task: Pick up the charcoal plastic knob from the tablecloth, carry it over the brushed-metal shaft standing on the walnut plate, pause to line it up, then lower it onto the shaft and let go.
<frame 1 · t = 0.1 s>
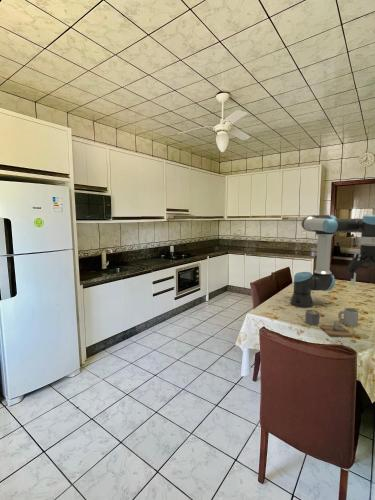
hand: (366, 284, 137), 28 cm above the table, fingers open, 13 cm apart
cup: (347, 324, 155), on the table
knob: (311, 323, 156), on the table
shaft block: (335, 332, 144), on the table
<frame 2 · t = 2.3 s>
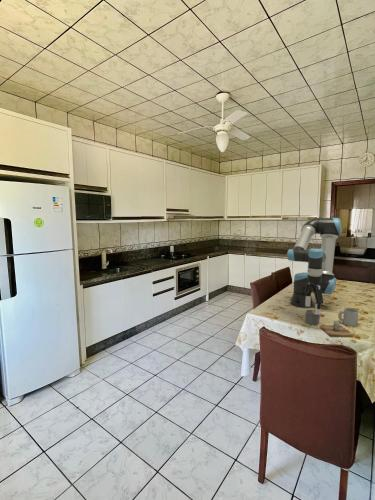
hand: (312, 310, 155), 8 cm above the table, fingers open, 13 cm apart
nothing on the table moved.
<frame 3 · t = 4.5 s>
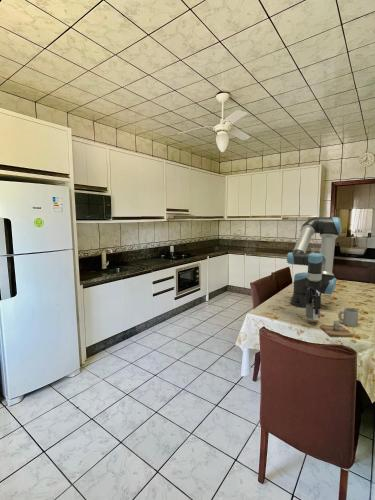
hand: (312, 316, 156), 4 cm above the table, fingers closed on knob, 7 cm apart
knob: (312, 316, 156), point 4 cm above the table, touching gripper
everything else where it was.
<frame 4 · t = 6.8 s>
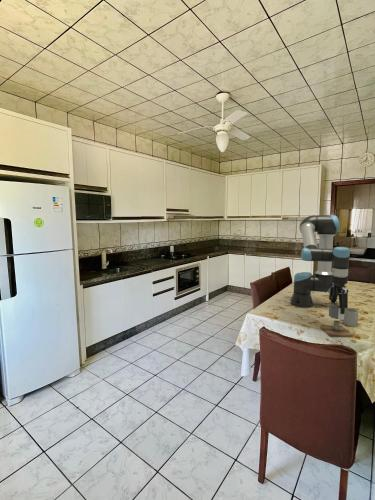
hand: (336, 316, 143), 9 cm above the table, fingers closed on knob, 7 cm apart
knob: (336, 316, 143), point 9 cm above the table, touching gripper
everything else where it was.
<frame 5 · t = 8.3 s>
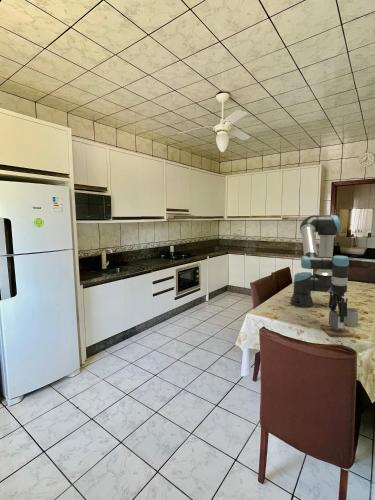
hand: (336, 324, 143), 4 cm above the table, fingers closed on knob, 7 cm apart
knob: (336, 325, 143), point 4 cm above the table, touching gripper
everything else where it was.
when the fingers open (2 cm above the table, at t = 9.1 s): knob stays where it is, resting on shaft block.
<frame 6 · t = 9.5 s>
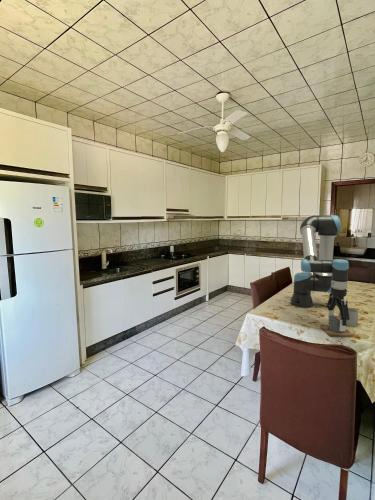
hand: (336, 325, 144), 4 cm above the table, fingers open, 12 cm apart
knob: (335, 330, 144), point 1 cm above the table, touching shaft block
everything else where it was.
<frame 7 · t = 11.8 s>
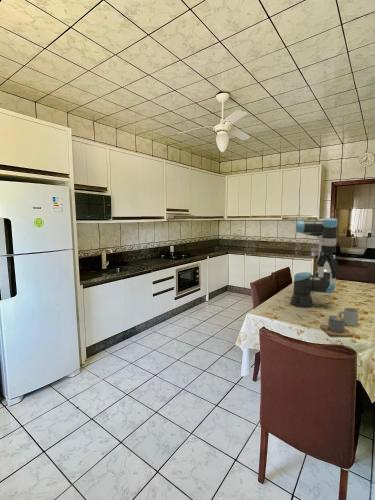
hand: (326, 280, 154), 26 cm above the table, fingers open, 13 cm apart
nothing on the table moved.
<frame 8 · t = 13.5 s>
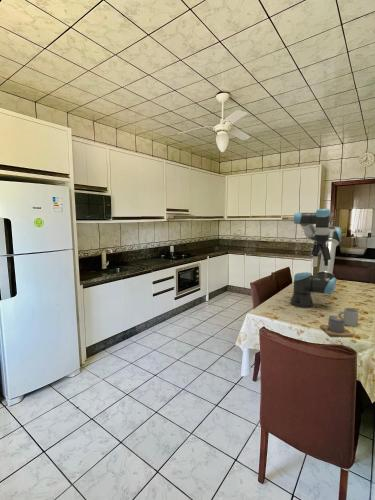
hand: (319, 268, 161), 32 cm above the table, fingers open, 13 cm apart
nothing on the table moved.
at the end: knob 0.1 cm from the shaft block (horizontally); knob point 1.2 cm above the table; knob tilted 0° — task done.
